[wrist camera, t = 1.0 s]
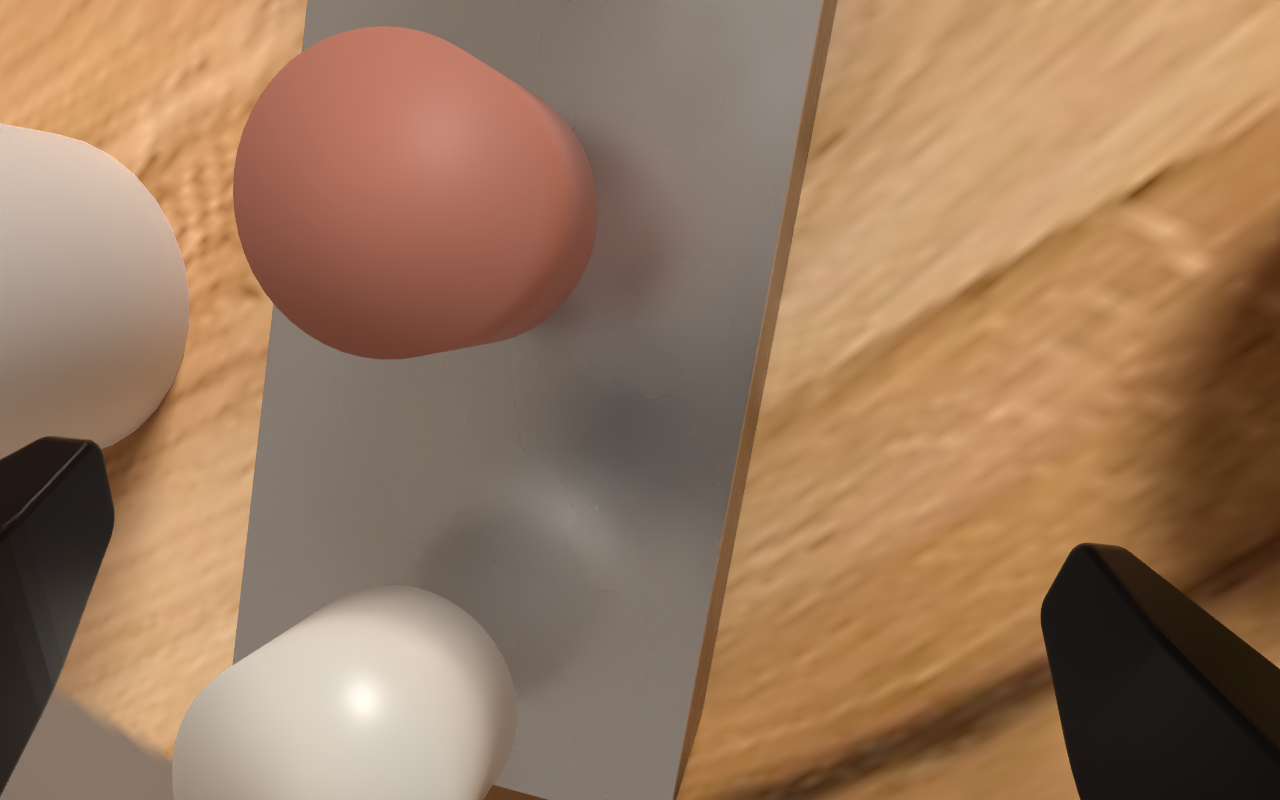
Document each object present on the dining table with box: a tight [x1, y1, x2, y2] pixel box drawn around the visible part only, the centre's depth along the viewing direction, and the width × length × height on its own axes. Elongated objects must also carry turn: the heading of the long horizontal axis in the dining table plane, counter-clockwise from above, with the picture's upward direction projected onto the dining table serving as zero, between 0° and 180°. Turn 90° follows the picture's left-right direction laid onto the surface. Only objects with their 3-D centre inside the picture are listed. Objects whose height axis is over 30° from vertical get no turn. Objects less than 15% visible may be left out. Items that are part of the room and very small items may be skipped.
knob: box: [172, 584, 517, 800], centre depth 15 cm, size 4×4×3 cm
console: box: [233, 0, 837, 800], centre depth 20 cm, size 21×9×5 cm, turn 170°
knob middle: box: [233, 26, 598, 360], centre depth 14 cm, size 4×4×3 cm
